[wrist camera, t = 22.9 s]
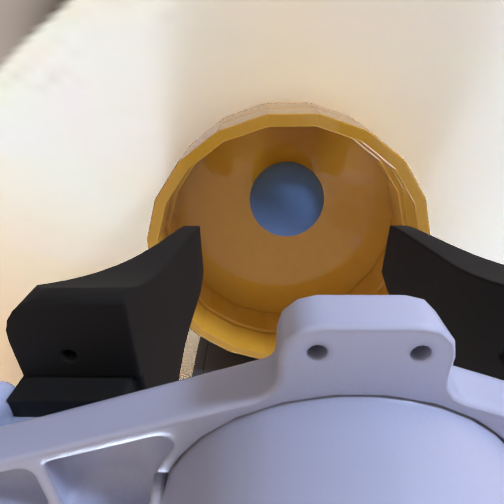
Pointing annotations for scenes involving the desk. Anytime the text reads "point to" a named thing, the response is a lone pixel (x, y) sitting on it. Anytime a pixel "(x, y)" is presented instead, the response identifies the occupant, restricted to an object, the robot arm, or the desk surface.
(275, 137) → the bowl
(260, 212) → the slate-blue ball
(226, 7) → the desk surface
